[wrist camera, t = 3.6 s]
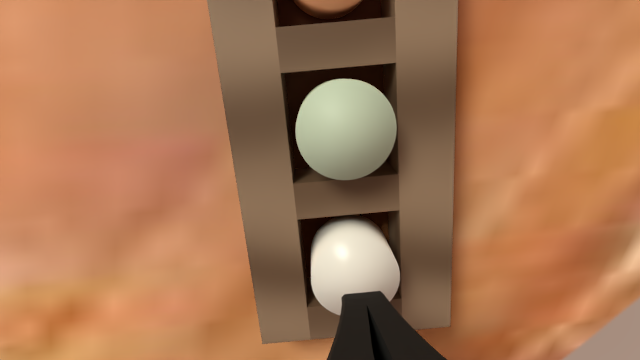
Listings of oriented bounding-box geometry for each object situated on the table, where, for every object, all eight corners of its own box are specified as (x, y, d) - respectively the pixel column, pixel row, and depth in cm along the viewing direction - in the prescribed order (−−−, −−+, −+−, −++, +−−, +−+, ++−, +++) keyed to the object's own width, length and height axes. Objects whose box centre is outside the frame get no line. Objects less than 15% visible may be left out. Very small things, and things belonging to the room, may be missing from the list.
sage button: (383, 160, 15) (397, 175, 13) (302, 167, 15) (300, 184, 13) (381, 74, 14) (395, 74, 12) (293, 82, 14) (290, 83, 12)
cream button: (388, 280, 17) (401, 313, 15) (314, 286, 17) (315, 321, 15) (385, 211, 16) (399, 234, 14) (307, 218, 16) (307, 243, 14)
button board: (432, 295, 19) (450, 326, 17) (268, 310, 19) (262, 344, 17) (435, -154, 13) (462, -204, 11) (201, -134, 13) (178, -179, 11)
